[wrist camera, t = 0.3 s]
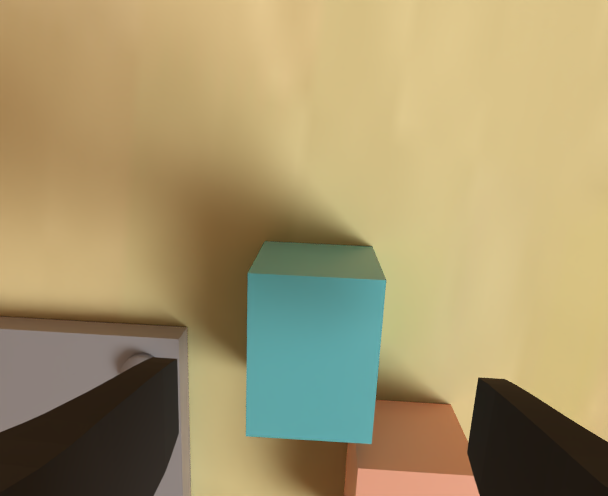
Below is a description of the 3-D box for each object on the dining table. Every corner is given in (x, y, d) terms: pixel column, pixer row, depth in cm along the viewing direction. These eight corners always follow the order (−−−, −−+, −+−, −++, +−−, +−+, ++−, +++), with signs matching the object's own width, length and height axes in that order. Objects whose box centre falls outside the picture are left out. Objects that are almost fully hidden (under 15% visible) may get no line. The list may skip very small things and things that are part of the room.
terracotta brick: (434, 514, 22) (461, 608, 18) (342, 507, 22) (347, 600, 18) (450, 403, 21) (483, 476, 16) (350, 396, 21) (358, 468, 16)
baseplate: (192, 582, 23) (182, 616, 22) (-56, 563, 24) (-85, 595, 22) (187, 327, 20) (174, 344, 18) (-104, 310, 20) (-142, 326, 19)
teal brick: (361, 377, 20) (371, 444, 16) (262, 371, 21) (245, 436, 16) (372, 245, 19) (385, 280, 15) (265, 240, 19) (247, 273, 15)
